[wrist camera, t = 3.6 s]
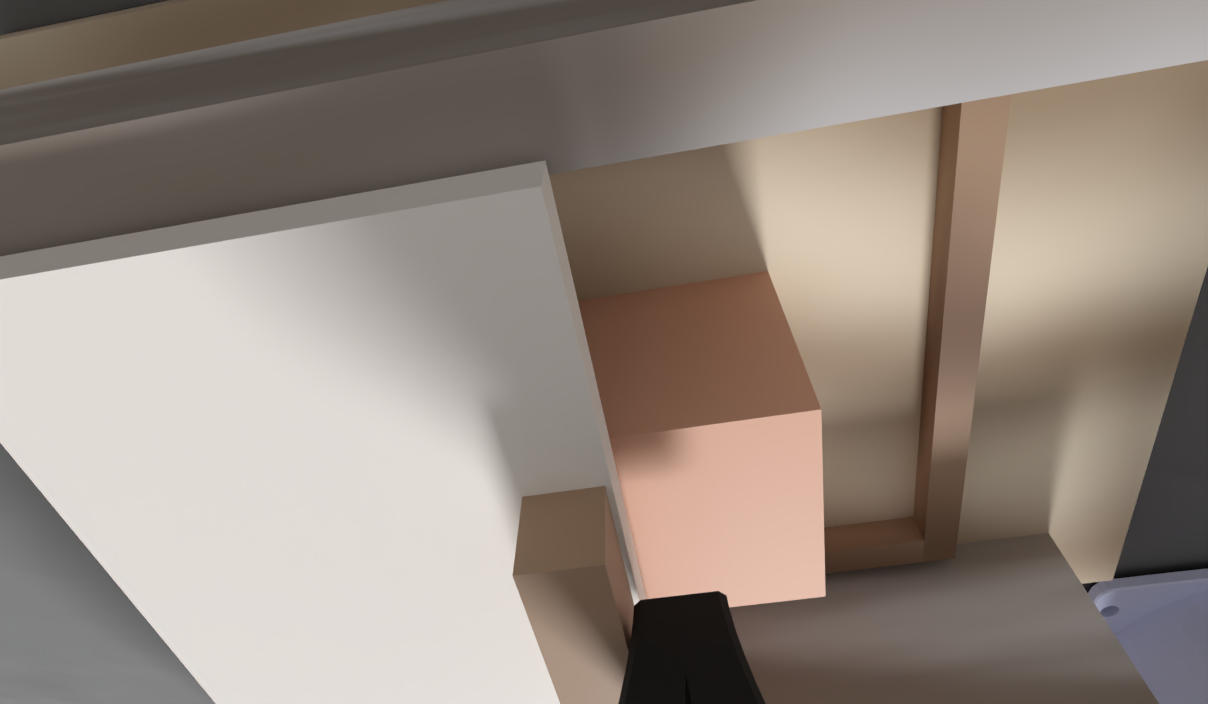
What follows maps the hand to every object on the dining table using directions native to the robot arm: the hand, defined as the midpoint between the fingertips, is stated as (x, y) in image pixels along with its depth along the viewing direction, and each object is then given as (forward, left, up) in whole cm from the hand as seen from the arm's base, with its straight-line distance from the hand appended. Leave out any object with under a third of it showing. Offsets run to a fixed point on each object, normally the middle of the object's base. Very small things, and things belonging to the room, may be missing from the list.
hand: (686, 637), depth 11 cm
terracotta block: (0, 0, -7) cm, 7 cm away
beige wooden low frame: (0, 0, -8) cm, 8 cm away
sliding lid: (0, +5, -2) cm, 5 cm away
